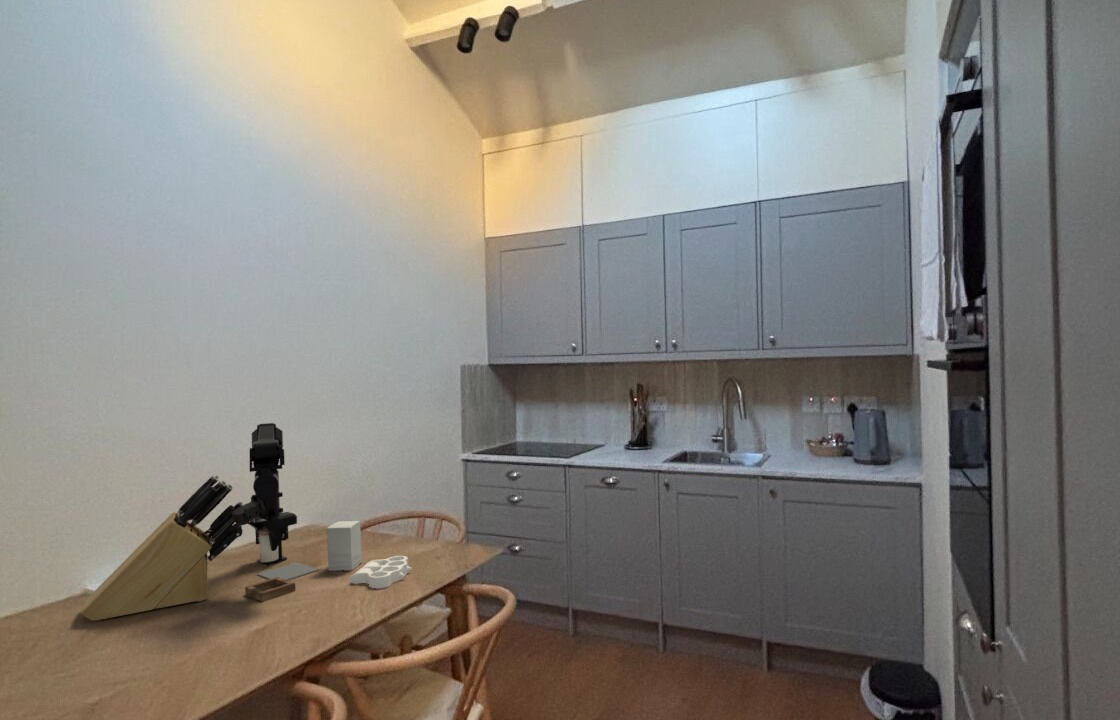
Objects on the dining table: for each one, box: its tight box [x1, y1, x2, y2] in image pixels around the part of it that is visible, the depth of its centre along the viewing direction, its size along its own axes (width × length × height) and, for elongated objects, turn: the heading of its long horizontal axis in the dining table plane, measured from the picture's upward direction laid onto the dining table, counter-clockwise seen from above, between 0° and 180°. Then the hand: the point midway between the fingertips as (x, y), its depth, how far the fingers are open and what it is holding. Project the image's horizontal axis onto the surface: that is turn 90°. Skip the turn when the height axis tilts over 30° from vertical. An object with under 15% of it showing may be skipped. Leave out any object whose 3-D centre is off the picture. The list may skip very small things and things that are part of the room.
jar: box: [259, 528, 279, 562], centre depth 161 cm, size 5×5×8 cm
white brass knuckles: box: [349, 555, 413, 589], centre depth 170 cm, size 3×18×15 cm
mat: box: [256, 561, 320, 581], centre depth 176 cm, size 12×12×1 cm
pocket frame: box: [244, 577, 296, 602], centre depth 161 cm, size 9×9×2 cm
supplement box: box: [326, 520, 363, 572], centre depth 180 cm, size 7×7×13 cm
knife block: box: [80, 474, 244, 621], centre depth 157 cm, size 11×35×31 cm, turn 120°
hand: (269, 549), depth 161 cm, fingers closed on jar, 4 cm apart
